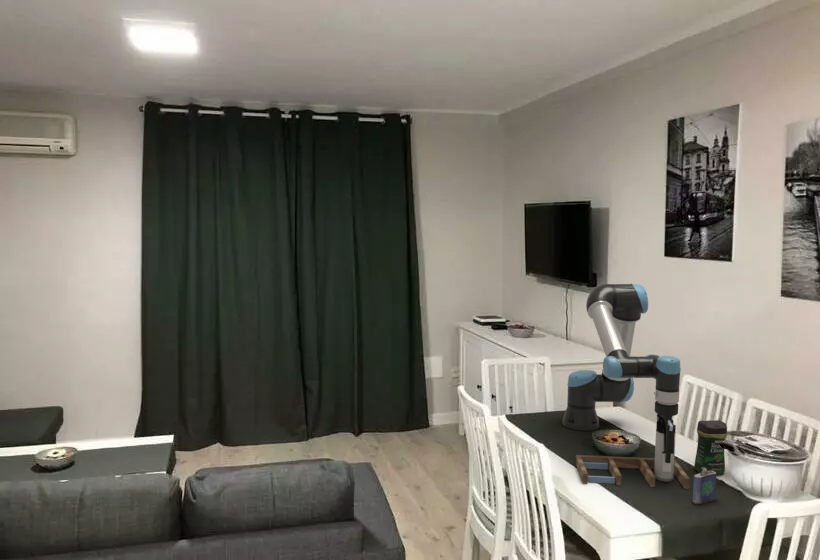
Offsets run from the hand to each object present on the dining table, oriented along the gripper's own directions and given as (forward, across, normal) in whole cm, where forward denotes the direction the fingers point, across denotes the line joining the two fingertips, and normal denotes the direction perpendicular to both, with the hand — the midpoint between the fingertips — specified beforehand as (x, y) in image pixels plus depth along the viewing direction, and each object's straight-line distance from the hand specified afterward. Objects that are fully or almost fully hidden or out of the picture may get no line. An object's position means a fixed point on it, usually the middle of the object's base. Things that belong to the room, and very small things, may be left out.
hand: (663, 467), depth 230 cm
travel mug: (+4, 0, 0) cm, 4 cm away
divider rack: (+4, 0, -11) cm, 12 cm away
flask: (+4, +17, +8) cm, 19 cm away
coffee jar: (+4, -8, +18) cm, 20 cm away
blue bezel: (+4, 0, -22) cm, 22 cm away
